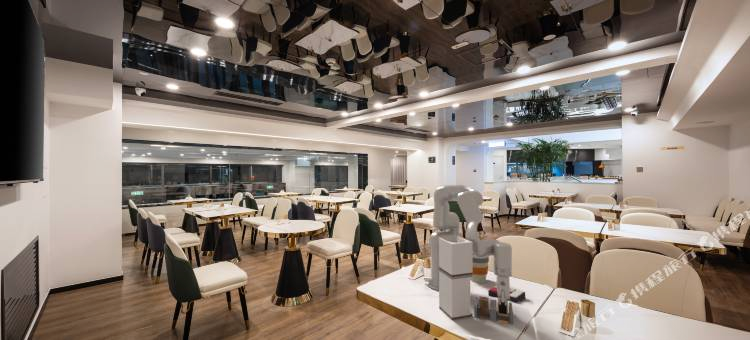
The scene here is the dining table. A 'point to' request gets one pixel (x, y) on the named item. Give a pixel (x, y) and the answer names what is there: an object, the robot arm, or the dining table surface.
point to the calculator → (514, 294)
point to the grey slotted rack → (494, 313)
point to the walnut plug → (483, 306)
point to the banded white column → (455, 277)
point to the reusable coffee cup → (480, 268)
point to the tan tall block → (507, 307)
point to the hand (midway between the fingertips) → (502, 310)
